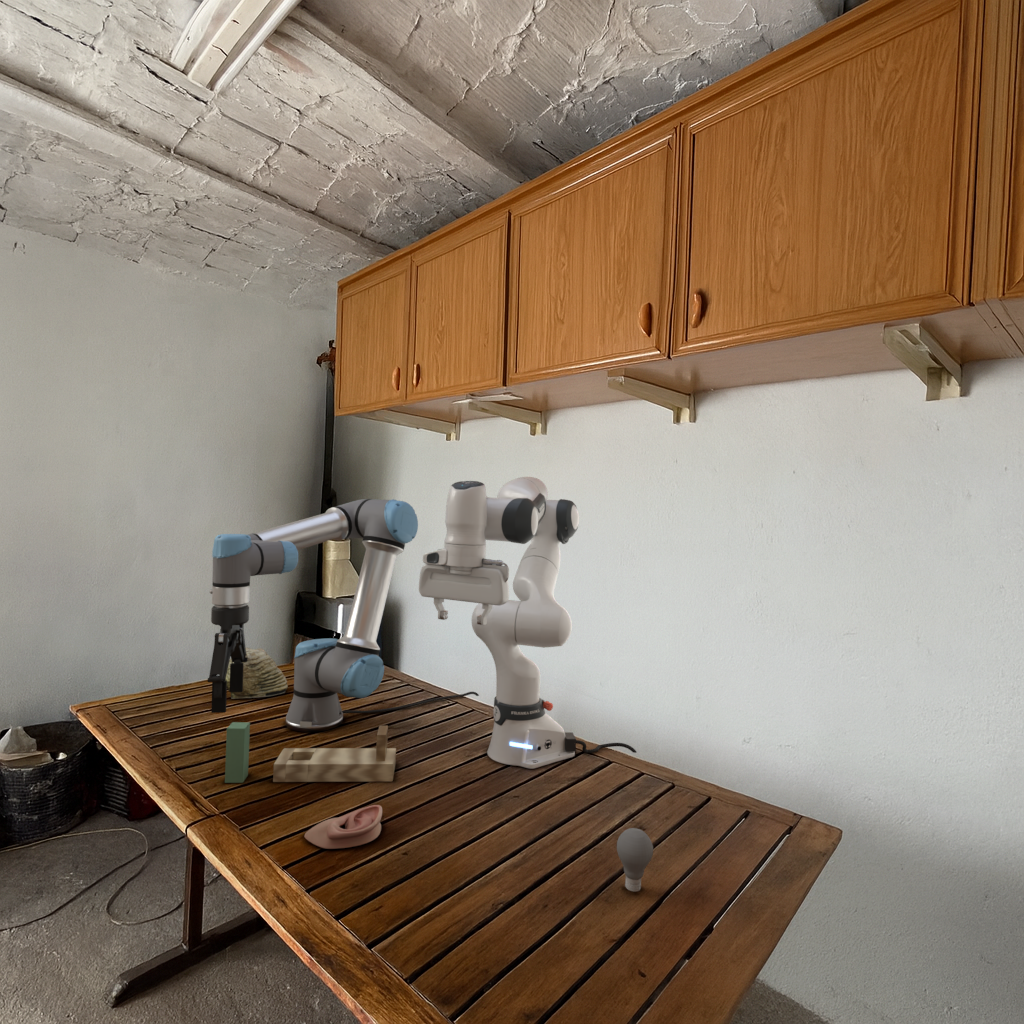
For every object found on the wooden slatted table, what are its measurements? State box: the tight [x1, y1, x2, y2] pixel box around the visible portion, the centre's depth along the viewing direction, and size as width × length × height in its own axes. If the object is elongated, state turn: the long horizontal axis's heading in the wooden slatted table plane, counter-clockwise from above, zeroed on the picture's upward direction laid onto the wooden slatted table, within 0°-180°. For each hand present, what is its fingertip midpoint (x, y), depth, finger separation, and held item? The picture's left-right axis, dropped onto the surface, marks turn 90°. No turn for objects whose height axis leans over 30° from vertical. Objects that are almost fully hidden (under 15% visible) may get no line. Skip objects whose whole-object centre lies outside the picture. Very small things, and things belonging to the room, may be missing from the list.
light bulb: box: [616, 827, 654, 893], centre depth 106 cm, size 6×6×10 cm
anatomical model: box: [303, 804, 383, 850], centre depth 119 cm, size 13×4×12 cm
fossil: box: [225, 646, 289, 700], centre depth 198 cm, size 9×18×15 cm, turn 132°
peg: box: [224, 721, 251, 784], centre depth 140 cm, size 4×4×12 cm
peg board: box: [272, 725, 397, 783], centre depth 145 cm, size 26×9×10 cm, turn 96°
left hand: (227, 701), depth 139 cm, fingers open, 13 cm apart
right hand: (462, 621), depth 135 cm, fingers open, 8 cm apart
